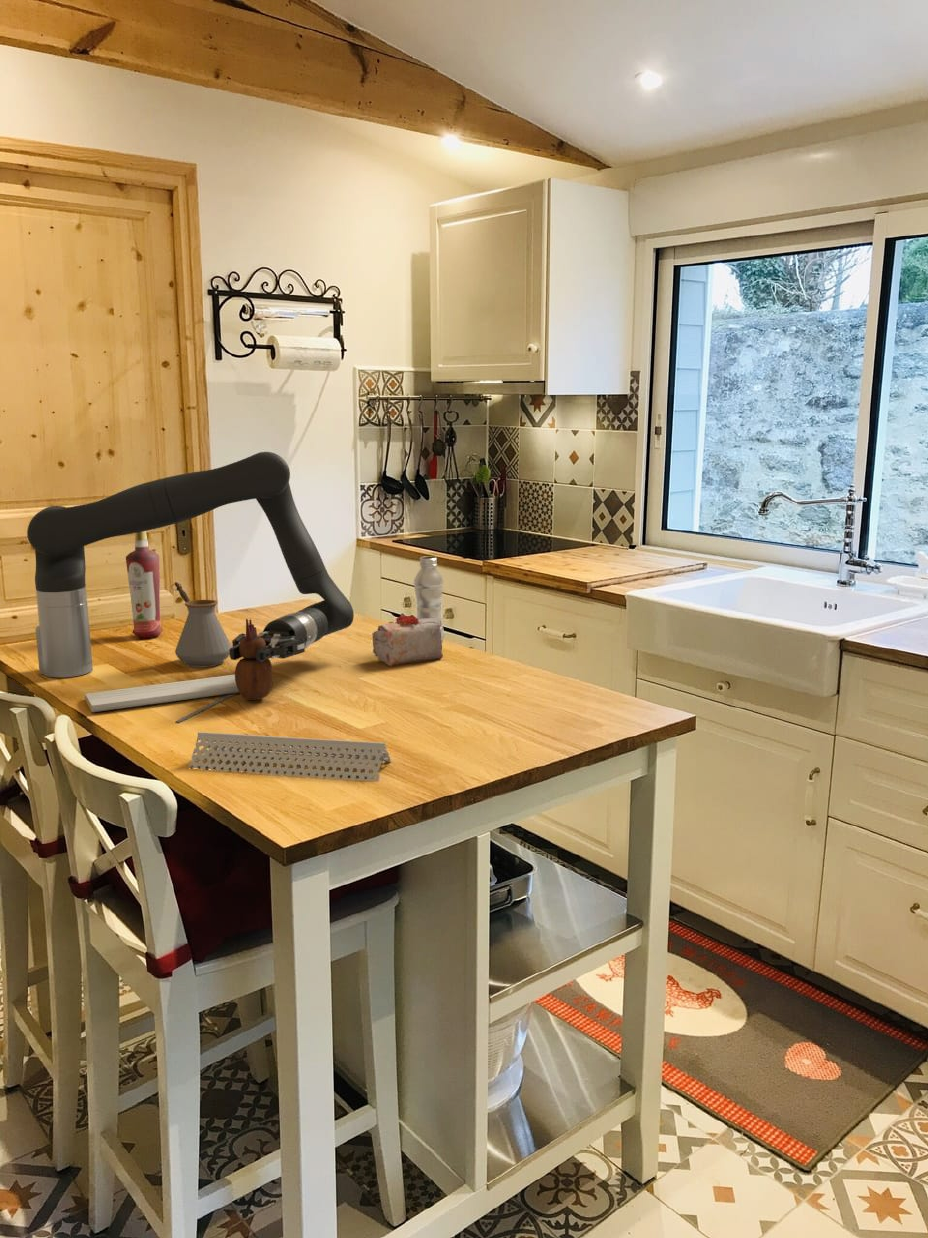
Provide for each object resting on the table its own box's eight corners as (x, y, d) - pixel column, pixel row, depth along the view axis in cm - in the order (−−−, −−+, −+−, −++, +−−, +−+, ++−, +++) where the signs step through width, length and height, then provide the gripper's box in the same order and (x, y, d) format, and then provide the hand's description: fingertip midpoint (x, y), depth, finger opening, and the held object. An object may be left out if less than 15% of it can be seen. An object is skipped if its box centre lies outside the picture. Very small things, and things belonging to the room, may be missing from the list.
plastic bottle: (450, 645, 222) (449, 556, 218) (432, 652, 216) (432, 560, 212) (426, 642, 225) (425, 554, 221) (408, 648, 220) (407, 558, 216)
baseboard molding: (83, 698, 184) (92, 714, 173) (82, 682, 183) (91, 698, 172) (250, 676, 197) (267, 690, 187) (249, 662, 197) (266, 675, 186)
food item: (387, 669, 203) (386, 622, 201) (370, 660, 210) (369, 615, 207) (445, 660, 210) (445, 614, 208) (427, 652, 216) (426, 608, 214)
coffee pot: (241, 664, 207) (237, 593, 204) (186, 672, 200) (182, 599, 197) (204, 644, 224) (200, 578, 221) (153, 651, 218) (148, 584, 214)
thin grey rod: (175, 722, 169) (175, 721, 169) (234, 692, 186) (234, 691, 186) (179, 722, 169) (179, 721, 169) (238, 692, 186) (238, 691, 186)
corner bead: (186, 774, 147) (184, 741, 146) (212, 753, 156) (210, 723, 155) (377, 786, 142) (376, 753, 141) (393, 764, 150) (392, 733, 149)
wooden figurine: (253, 704, 177) (249, 622, 174) (230, 699, 180) (225, 618, 177) (279, 695, 182) (276, 615, 179) (256, 690, 186) (252, 611, 182)
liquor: (170, 633, 235) (162, 514, 229) (154, 641, 228) (145, 518, 222) (142, 632, 236) (133, 514, 230) (125, 639, 229) (116, 517, 223)
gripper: (256, 612, 194) (208, 632, 178) (323, 617, 190) (280, 637, 174) (258, 650, 196) (211, 672, 180) (324, 655, 191) (281, 679, 175)
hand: (245, 655), depth 177 cm, fingers closed on wooden figurine, 4 cm apart
